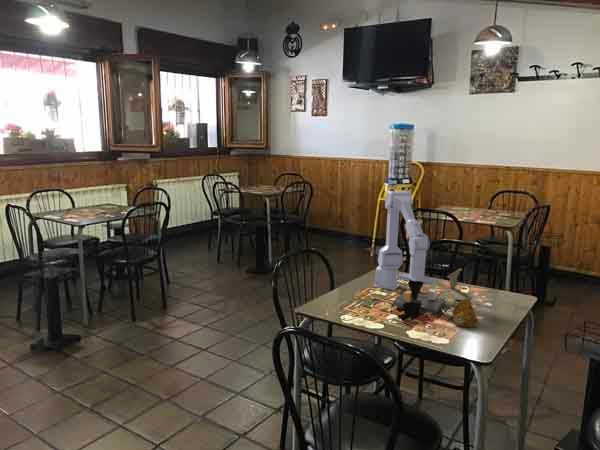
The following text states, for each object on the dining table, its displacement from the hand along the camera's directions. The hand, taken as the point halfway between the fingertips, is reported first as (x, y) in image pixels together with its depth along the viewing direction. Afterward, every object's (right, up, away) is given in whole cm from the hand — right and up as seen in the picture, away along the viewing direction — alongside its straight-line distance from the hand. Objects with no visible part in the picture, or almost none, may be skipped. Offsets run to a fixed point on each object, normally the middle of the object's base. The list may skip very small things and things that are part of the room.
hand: (414, 299), depth 189 cm
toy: (-5, -5, -10) cm, 12 cm away
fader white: (+8, -1, +5) cm, 9 cm away
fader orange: (-2, -1, +1) cm, 3 cm away
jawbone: (+21, -1, +15) cm, 25 cm away
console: (+3, -2, +4) cm, 5 cm away
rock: (+14, -7, -14) cm, 21 cm away
